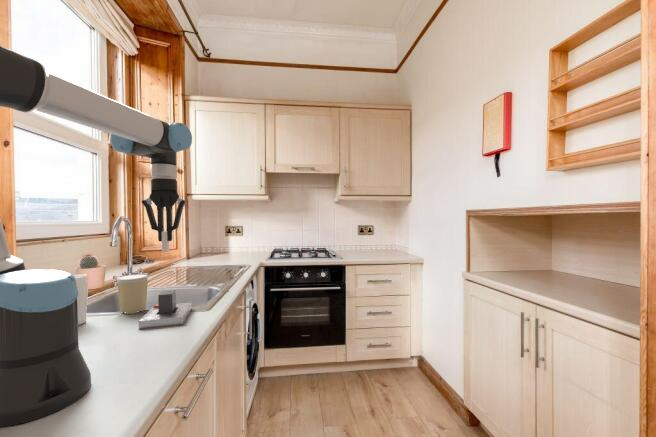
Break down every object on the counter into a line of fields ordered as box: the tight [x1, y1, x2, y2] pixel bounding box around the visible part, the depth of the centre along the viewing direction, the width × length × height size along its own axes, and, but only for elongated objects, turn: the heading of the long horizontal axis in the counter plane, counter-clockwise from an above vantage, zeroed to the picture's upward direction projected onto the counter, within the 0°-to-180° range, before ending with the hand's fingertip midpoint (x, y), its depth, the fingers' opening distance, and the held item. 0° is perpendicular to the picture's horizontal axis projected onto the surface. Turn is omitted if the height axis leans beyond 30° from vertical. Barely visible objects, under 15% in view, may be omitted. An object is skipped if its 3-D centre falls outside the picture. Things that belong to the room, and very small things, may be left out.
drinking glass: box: [72, 273, 89, 326], centre depth 96 cm, size 7×7×15 cm
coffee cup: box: [116, 274, 149, 315], centre depth 109 cm, size 9×9×12 cm
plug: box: [157, 290, 177, 315], centre depth 100 cm, size 5×4×8 cm
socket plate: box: [138, 302, 193, 330], centre depth 100 cm, size 16×12×3 cm
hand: (165, 251), depth 100 cm, fingers closed
